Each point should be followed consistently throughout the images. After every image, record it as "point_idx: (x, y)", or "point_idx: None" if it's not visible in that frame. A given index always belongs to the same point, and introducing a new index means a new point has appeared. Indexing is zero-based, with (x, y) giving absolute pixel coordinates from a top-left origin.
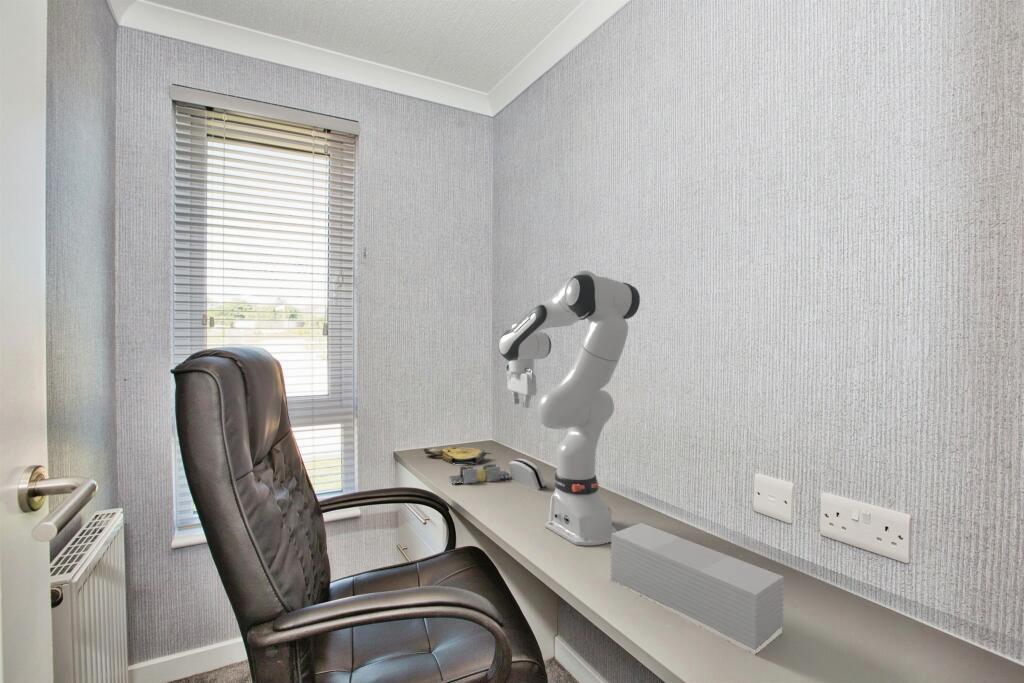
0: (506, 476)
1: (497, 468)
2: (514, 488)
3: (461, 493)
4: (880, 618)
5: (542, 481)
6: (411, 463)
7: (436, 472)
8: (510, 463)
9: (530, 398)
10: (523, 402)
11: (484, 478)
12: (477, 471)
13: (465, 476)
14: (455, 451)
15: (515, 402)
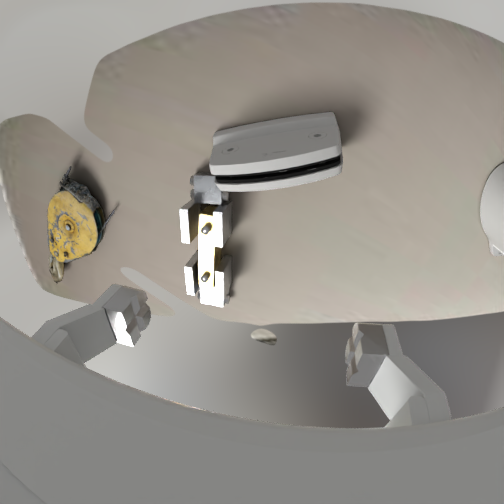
0: None
1: (223, 219)
2: (304, 194)
3: (286, 305)
4: None
5: (339, 132)
6: None
7: None
8: (233, 191)
9: (440, 391)
10: (357, 385)
11: None
12: (213, 262)
13: (227, 288)
14: (67, 244)
15: (145, 323)
